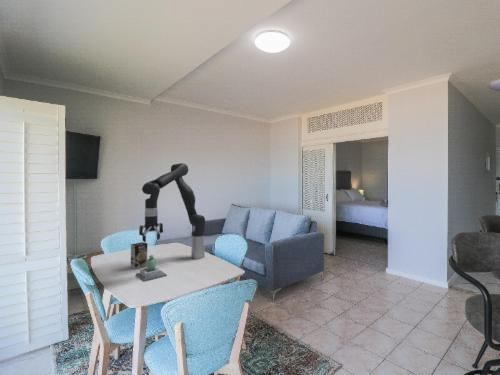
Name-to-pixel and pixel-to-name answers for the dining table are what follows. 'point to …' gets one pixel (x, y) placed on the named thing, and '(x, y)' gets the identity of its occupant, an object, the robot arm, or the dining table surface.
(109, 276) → the dining table surface
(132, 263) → the coffee box
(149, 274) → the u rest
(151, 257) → the green bottle
